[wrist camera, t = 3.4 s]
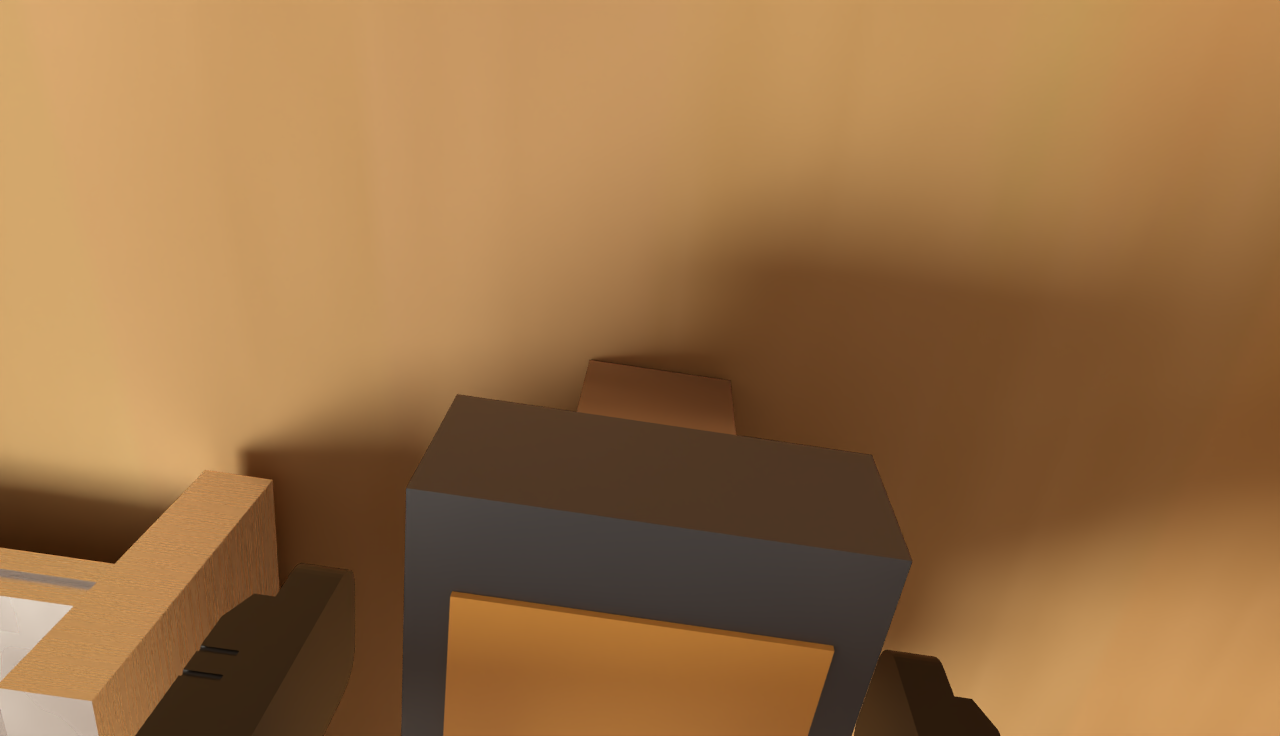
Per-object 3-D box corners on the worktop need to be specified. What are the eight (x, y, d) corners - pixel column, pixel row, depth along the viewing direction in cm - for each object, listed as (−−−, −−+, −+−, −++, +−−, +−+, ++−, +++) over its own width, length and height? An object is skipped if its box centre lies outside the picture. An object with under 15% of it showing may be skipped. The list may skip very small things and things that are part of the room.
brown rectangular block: (589, 359, 14) (555, 493, 10) (730, 381, 14) (745, 520, 11) (556, 629, 17) (520, 811, 13) (675, 646, 17) (671, 833, 13)
